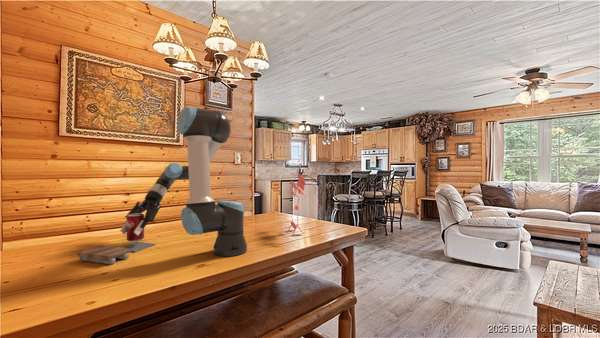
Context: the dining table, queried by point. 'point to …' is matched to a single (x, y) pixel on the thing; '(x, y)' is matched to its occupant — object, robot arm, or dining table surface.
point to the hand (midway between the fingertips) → (129, 233)
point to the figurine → (300, 186)
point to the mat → (137, 246)
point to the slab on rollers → (104, 254)
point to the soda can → (134, 227)
